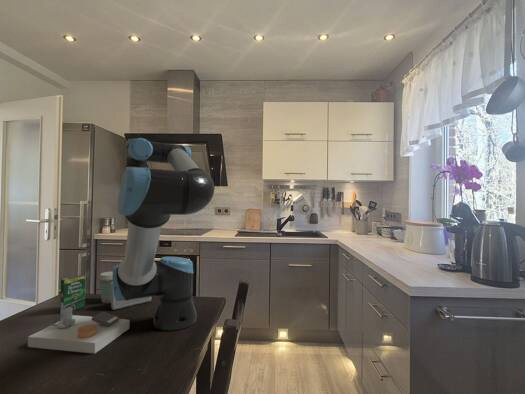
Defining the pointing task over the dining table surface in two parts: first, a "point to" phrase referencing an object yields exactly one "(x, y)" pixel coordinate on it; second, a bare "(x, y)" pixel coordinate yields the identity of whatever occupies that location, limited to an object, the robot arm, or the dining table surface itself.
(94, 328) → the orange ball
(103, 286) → the coffee cup
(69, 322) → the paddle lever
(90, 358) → the dining table surface
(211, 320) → the dining table surface
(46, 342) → the panel
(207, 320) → the dining table surface
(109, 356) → the dining table surface
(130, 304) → the digital clock
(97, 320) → the grey flat block
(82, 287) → the coffee box
